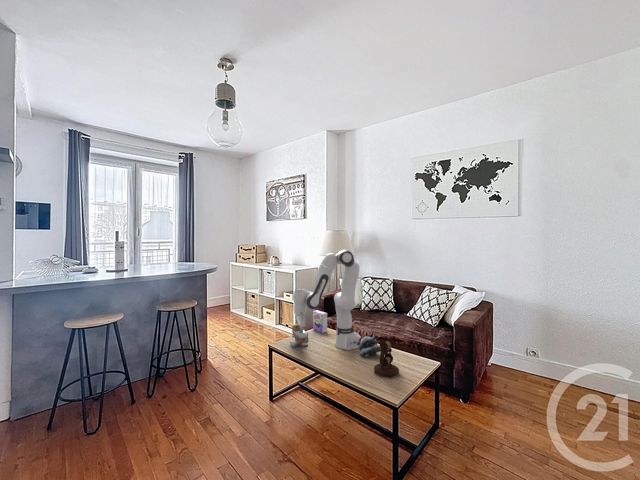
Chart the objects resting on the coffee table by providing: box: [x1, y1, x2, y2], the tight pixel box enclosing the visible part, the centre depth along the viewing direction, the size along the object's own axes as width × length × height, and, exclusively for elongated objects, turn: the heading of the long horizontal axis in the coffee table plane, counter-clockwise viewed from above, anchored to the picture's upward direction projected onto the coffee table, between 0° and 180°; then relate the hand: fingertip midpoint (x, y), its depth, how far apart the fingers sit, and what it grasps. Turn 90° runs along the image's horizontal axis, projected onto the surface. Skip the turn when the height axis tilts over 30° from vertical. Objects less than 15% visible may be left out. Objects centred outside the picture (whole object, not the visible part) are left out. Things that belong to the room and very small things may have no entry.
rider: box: [298, 330, 307, 339], centre depth 213 cm, size 5×5×5 cm
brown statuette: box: [373, 337, 400, 379], centre depth 179 cm, size 15×15×20 cm
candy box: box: [312, 309, 328, 334], centre depth 258 cm, size 14×6×16 cm, turn 37°
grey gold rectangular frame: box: [289, 323, 310, 349], centre depth 221 cm, size 12×25×14 cm, turn 13°
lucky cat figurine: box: [357, 334, 381, 358], centre depth 207 cm, size 15×12×14 cm
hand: (300, 329), depth 220 cm, fingers closed
